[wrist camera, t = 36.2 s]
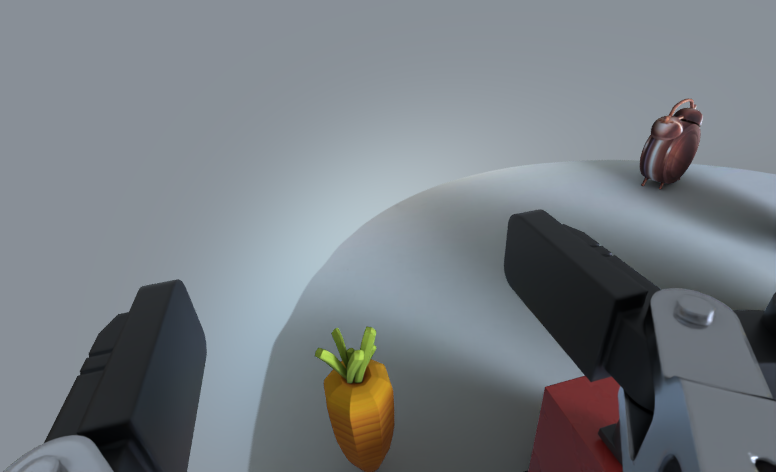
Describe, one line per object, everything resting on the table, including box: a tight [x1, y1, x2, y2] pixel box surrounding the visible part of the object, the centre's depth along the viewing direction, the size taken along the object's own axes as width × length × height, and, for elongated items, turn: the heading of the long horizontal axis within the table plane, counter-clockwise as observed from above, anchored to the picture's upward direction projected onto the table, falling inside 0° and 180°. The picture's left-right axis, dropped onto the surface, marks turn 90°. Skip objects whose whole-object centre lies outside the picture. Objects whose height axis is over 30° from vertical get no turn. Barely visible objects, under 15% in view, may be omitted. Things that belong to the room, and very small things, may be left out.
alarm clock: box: [640, 99, 703, 189], centre depth 70 cm, size 11×5×15 cm, turn 122°
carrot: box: [315, 327, 394, 472], centre depth 30 cm, size 5×5×15 cm
